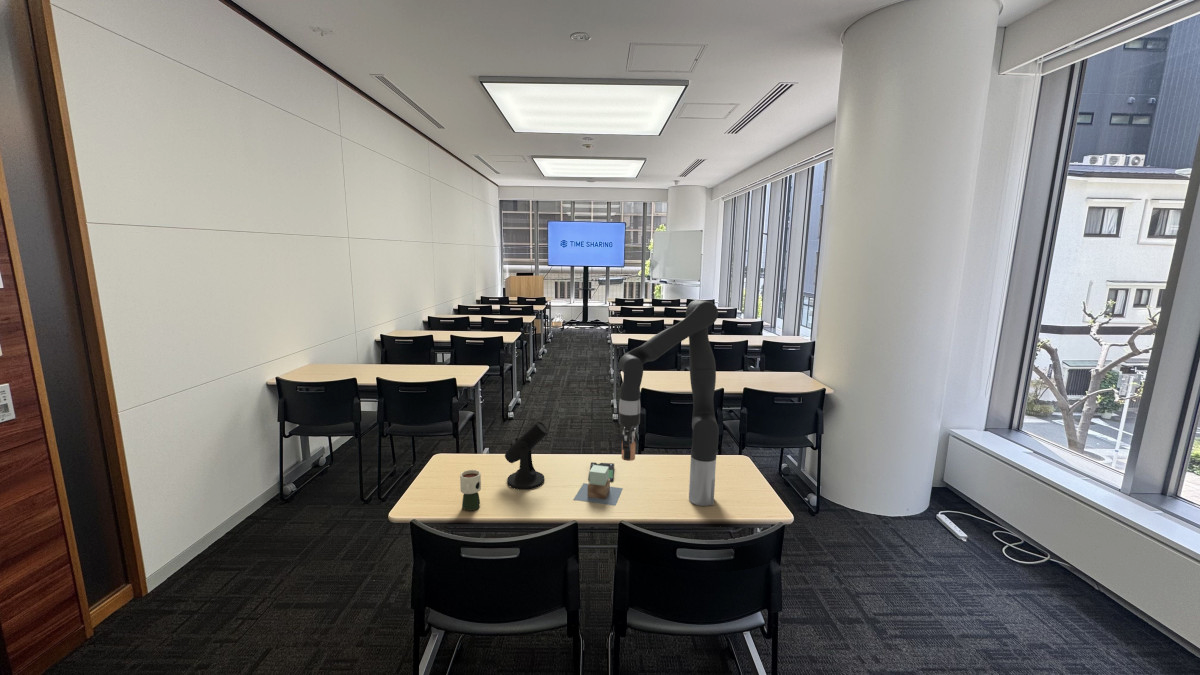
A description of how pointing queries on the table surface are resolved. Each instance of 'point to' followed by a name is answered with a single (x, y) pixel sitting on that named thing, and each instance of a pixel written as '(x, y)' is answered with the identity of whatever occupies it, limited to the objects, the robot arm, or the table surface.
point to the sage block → (598, 475)
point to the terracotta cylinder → (631, 452)
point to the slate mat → (610, 499)
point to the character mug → (470, 489)
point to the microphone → (526, 458)
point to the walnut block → (599, 490)
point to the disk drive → (610, 465)
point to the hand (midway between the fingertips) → (628, 456)
